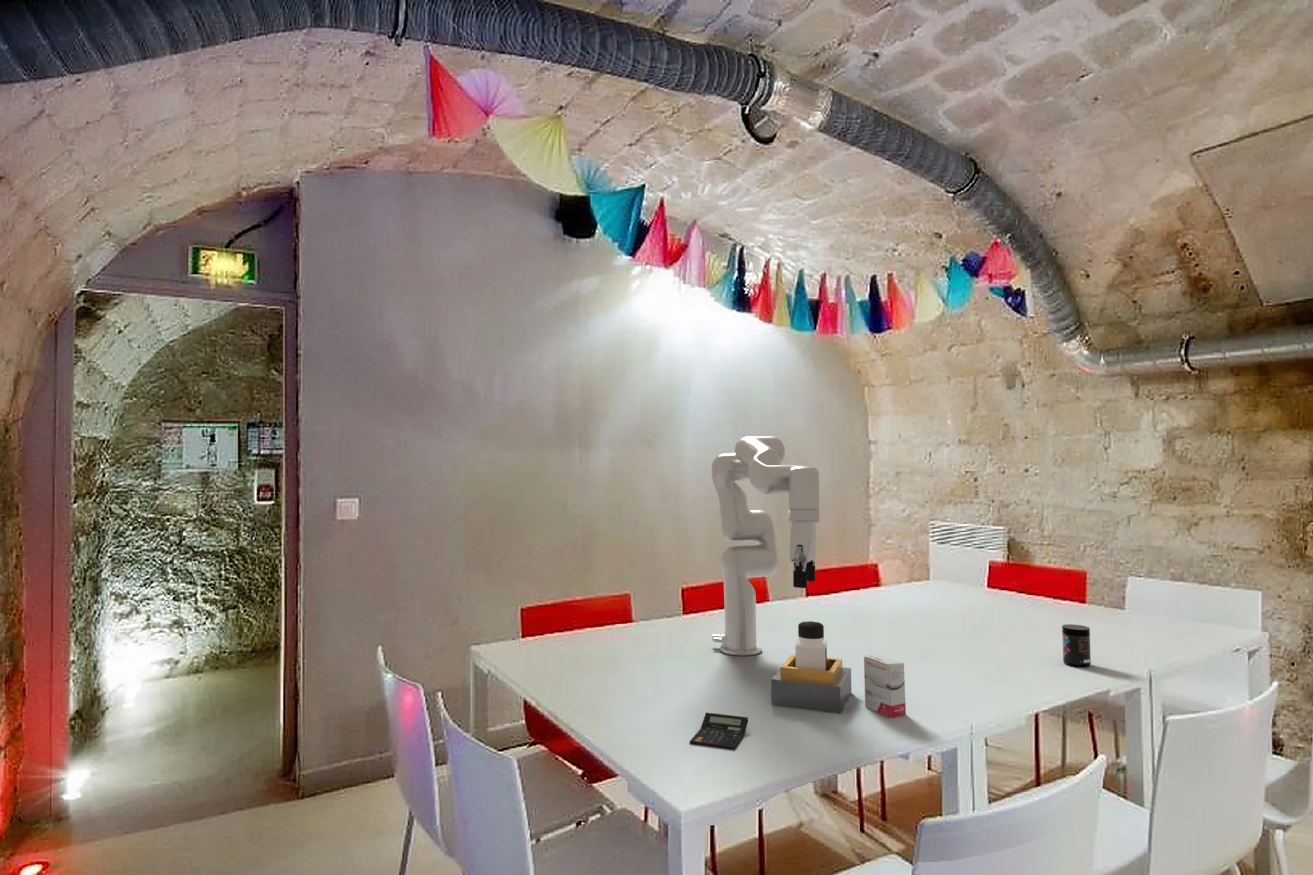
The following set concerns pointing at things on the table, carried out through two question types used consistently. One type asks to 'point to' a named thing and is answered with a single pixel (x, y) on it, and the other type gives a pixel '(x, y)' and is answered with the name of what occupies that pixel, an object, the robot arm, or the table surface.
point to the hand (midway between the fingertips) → (804, 584)
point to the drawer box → (812, 686)
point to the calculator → (721, 731)
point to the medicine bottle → (811, 646)
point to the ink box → (884, 685)
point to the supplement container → (1076, 645)
